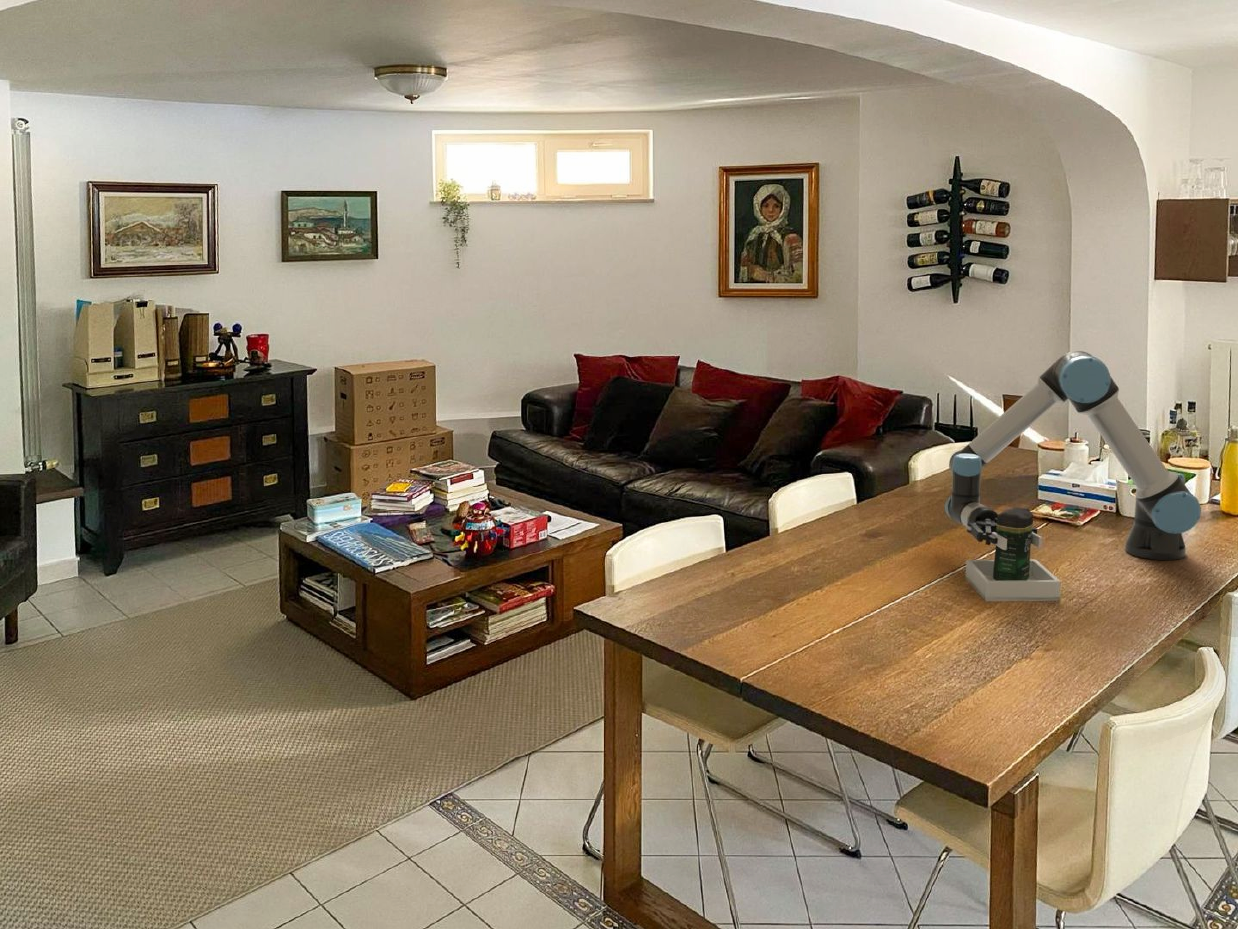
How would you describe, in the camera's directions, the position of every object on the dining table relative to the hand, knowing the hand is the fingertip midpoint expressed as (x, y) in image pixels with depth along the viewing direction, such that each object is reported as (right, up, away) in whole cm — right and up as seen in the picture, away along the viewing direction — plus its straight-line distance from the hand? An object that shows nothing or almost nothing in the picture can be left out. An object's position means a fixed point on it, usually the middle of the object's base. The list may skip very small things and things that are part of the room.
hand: (1023, 543), depth 265 cm
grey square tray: (0, -12, +7) cm, 14 cm away
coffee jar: (0, -10, +7) cm, 12 cm away
